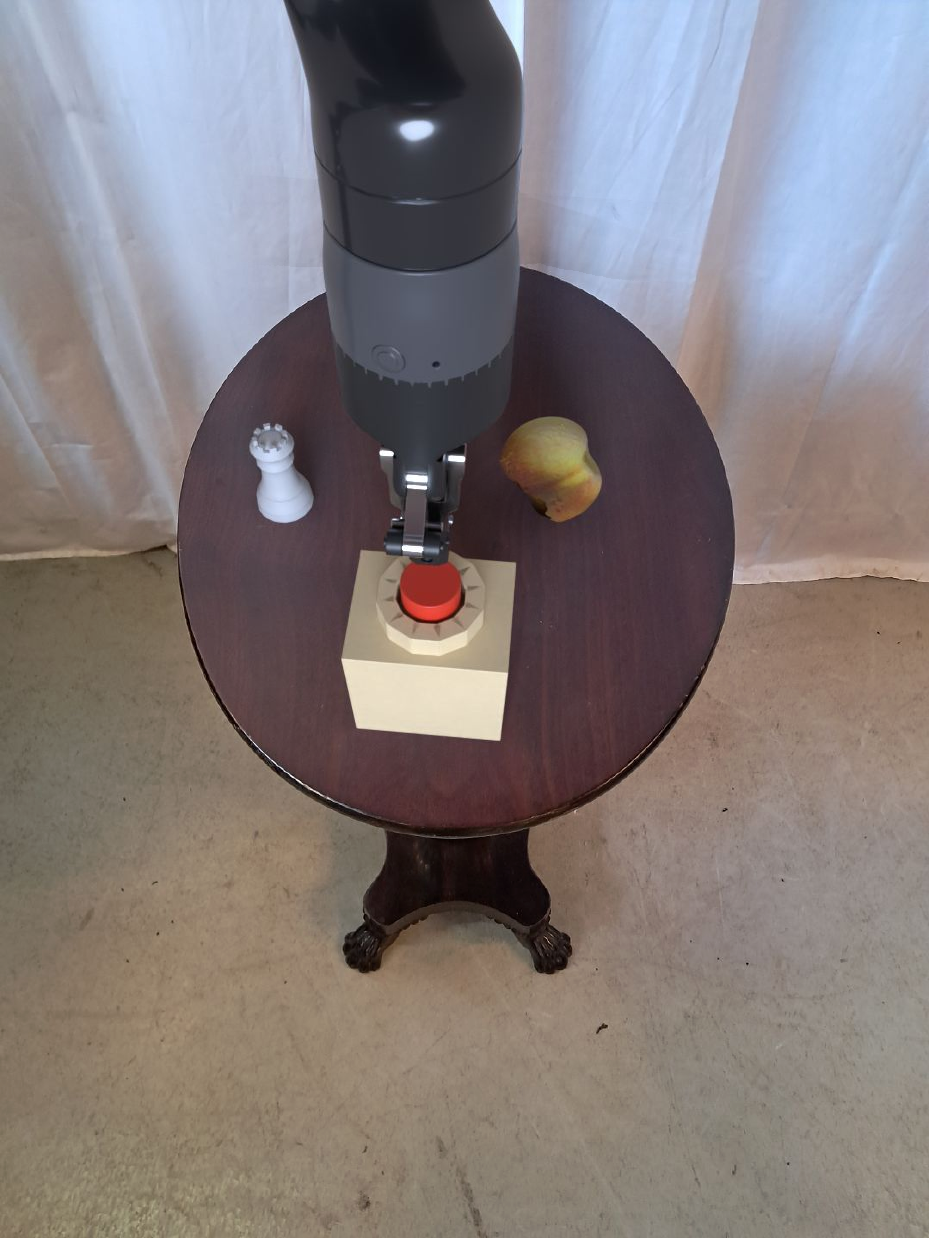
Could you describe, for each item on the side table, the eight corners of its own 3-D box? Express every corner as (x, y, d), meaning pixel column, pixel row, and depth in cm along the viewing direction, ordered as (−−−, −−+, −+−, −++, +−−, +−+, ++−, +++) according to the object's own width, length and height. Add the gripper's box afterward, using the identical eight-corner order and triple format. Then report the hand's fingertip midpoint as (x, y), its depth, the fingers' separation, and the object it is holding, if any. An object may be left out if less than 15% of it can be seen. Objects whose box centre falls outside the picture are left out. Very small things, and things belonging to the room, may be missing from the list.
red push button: (397, 620, 54) (396, 604, 53) (405, 569, 56) (403, 553, 54) (457, 625, 54) (458, 609, 52) (463, 574, 56) (463, 558, 54)
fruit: (575, 555, 71) (588, 490, 64) (479, 517, 72) (481, 450, 66) (610, 486, 74) (626, 418, 67) (518, 452, 76) (524, 381, 69)
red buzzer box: (356, 728, 63) (337, 644, 53) (372, 629, 67) (358, 533, 57) (500, 741, 63) (509, 659, 52) (507, 640, 67) (518, 545, 56)
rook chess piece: (286, 473, 75) (269, 403, 68) (326, 501, 73) (313, 433, 66) (246, 506, 73) (225, 438, 66) (286, 535, 71) (268, 469, 64)
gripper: (506, 440, 33) (487, 661, 48) (524, 210, 40) (503, 467, 55) (301, 425, 33) (346, 650, 48) (354, 198, 40) (379, 458, 55)
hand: (429, 552), depth 51 cm, fingers closed
